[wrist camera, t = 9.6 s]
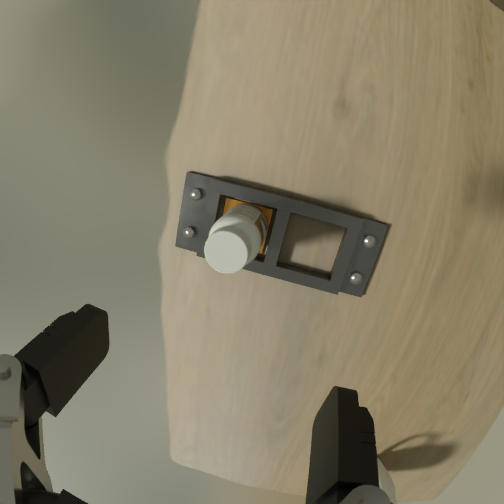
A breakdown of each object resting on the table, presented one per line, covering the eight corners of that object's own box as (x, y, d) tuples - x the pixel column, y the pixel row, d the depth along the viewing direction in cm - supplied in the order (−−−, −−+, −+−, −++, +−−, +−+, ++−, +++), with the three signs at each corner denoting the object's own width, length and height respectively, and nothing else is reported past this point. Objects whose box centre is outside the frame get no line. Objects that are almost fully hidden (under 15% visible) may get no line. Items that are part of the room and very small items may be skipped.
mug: (386, 470, 41) (391, 521, 31) (341, 475, 43) (340, 527, 32) (398, 434, 37) (408, 494, 27) (346, 440, 39) (347, 502, 29)
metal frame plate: (188, 171, 30) (183, 172, 29) (386, 224, 28) (389, 228, 27) (176, 245, 33) (172, 248, 32) (360, 295, 31) (362, 300, 30)
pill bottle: (261, 252, 31) (247, 286, 24) (219, 240, 31) (193, 270, 24) (273, 210, 29) (261, 233, 22) (228, 198, 30) (203, 217, 23)
